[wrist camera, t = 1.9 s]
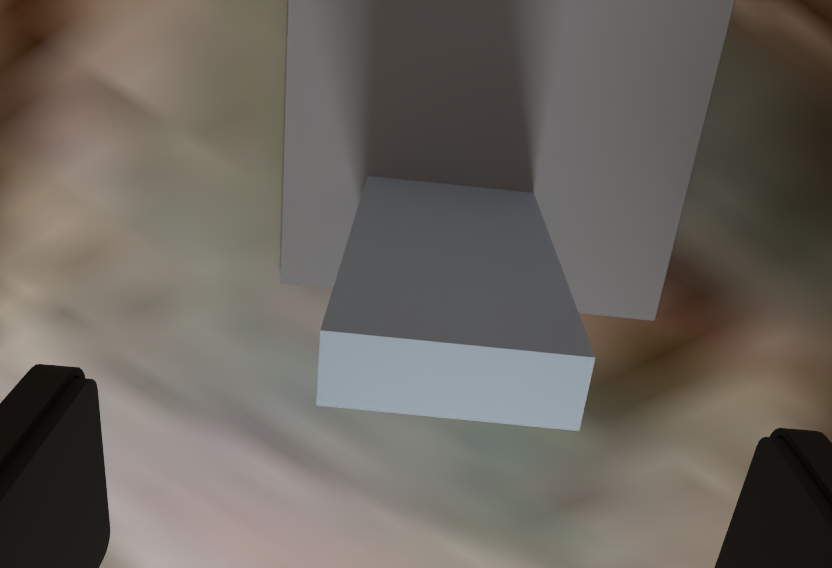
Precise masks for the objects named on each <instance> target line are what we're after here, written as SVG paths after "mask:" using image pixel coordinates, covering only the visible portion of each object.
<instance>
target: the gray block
mask: <svg viewBox="0 0 832 568" xmlns="http://www.w3.org/2000/svg"><path fill="white" fill-rule="evenodd" d="M594 361H595V355H594V353H593V350H592V347H591V345H590V342H589V339H588V337H587V334H586V331H585V329H584V326H583V323H582V321H581V318H580V315H579V313H578V310H577V307H576V305H575V302H574V299H573V297H572V294H571V291H570V289H569V286H568V283H567V281H566V278H565V275H564V273H563V270H562V267H561V264H560V262H559V259H558V256H557V254H556V251H555V248H554V246H553V243H552V240H551V238H550V235H549V232H548V230H547V227H546V224H545V222H544V219H543V216H542V214H541V211H540V208H539V206H538V203H537V200H536V198H535V195H534V193H530V192H520V191H511V190H501V189H491V188H481V187H472V186H462V185H452V184H442V183H433V182H423V181H413V180H403V179H393V178H384V177H374V176H367V178H366V182H365V185H364V188H363V192H362V195H361V198H360V201H359V205H358V208H357V211H356V215H355V218H354V221H353V225H352V228H351V231H350V234H349V238H348V241H347V244H346V248H345V251H344V254H343V257H342V261H341V264H340V267H339V271H338V274H337V277H336V281H335V284H334V287H333V290H332V294H331V297H330V300H329V304H328V307H327V310H326V314H325V317H324V320H323V323H322V327H321V330H320V347H319V366H318V385H317V404H316V405H319V406H329V407H339V408H349V409H359V410H370V411H380V412H390V413H400V414H411V415H421V416H431V417H441V418H451V419H462V420H472V421H482V422H492V423H503V424H513V425H523V426H533V427H543V428H554V429H564V430H574V431H579V430H580V425H581V421H582V416H583V411H584V407H585V402H586V398H587V393H588V389H589V384H590V380H591V375H592V371H593V366H594Z"/></svg>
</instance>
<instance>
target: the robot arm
mask: <svg viewBox="0 0 832 568" xmlns="http://www.w3.org/2000/svg"><path fill="white" fill-rule="evenodd" d="M109 537H110V522H109V511H108V500H107V489H106V478H105V466H104V455H103V444H102V433H101V422H100V411H99V400H98V389H97V384H96V382H95V381H94V380H93V379H85V375H84V373H83V371H82V369H80V368H78V367H66V366H55V365H43V364H38V365H35V366H33V367H32V368H31V369H30V370H29V371H28V372H27V374H26V375H25V376H24V377H23V378H22V379H21V380H20V382H19V383H18V384H17V385H16V386H15V387H14V388H13V390H12V391H11V392H10V393H9V394H8V395H7V396H6V398H5V399H4V400H3V401H2V402H1V403H0V568H99V566H100V564H101V562H102V560H103V558H104V556H105V553H106V551H107V547H108V543H109ZM715 568H832V443H831V442H830V441H829V439H828V438H827V437H826V436H825V435H824V434H823V433H821V432H818V431H809V430H797V429H786V428H779V429H775V430H774V431H773V432H772V434H771V435H770V437H764V438H762V439H761V440H760V441H759V443H758V445H757V447H756V450H755V453H754V456H753V459H752V462H751V464H750V467H749V470H748V473H747V476H746V479H745V482H744V485H743V487H742V490H741V493H740V496H739V499H738V502H737V505H736V508H735V511H734V513H733V516H732V519H731V522H730V525H729V528H728V531H727V534H726V536H725V539H724V542H723V545H722V548H721V551H720V554H719V557H718V560H717V562H716V565H715Z"/></svg>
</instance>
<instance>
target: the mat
mask: <svg viewBox="0 0 832 568" xmlns="http://www.w3.org/2000/svg"><path fill="white" fill-rule="evenodd" d="M734 1H735V0H288V33H287V68H286V102H285V137H284V172H283V207H282V242H281V277H280V283H283V284H293V285H303V286H313V287H323V288H333V287H334V284H335V281H336V277H337V274H338V271H339V267H340V264H341V261H342V257H343V254H344V251H345V248H346V244H347V241H348V238H349V234H350V231H351V228H352V225H353V221H354V218H355V215H356V211H357V208H358V205H359V201H360V198H361V195H362V192H363V188H364V185H365V182H366V178H367V176H374V177H384V178H393V179H403V180H413V181H423V182H433V183H442V184H452V185H462V186H472V187H481V188H491V189H501V190H511V191H520V192H530V193H534V195H535V198H536V200H537V203H538V206H539V208H540V211H541V214H542V216H543V219H544V222H545V224H546V227H547V230H548V232H549V235H550V238H551V240H552V243H553V246H554V248H555V251H556V254H557V256H558V259H559V262H560V264H561V267H562V270H563V273H564V275H565V278H566V281H567V283H568V286H569V289H570V291H571V294H572V297H573V299H574V302H575V305H576V307H577V310H578V313H583V314H592V315H602V316H612V317H622V318H632V319H642V320H652V321H654V320H655V316H656V312H657V308H658V304H659V300H660V296H661V292H662V288H663V284H664V280H665V276H666V272H667V268H668V264H669V260H670V256H671V252H672V248H673V244H674V240H675V236H676V232H677V228H678V224H679V220H680V216H681V212H682V208H683V204H684V200H685V196H686V192H687V188H688V184H689V180H690V176H691V172H692V168H693V164H694V160H695V156H696V152H697V148H698V144H699V140H700V136H701V132H702V128H703V124H704V120H705V116H706V112H707V108H708V104H709V100H710V96H711V92H712V88H713V84H714V80H715V76H716V72H717V68H718V65H719V61H720V57H721V53H722V49H723V45H724V41H725V37H726V33H727V29H728V25H729V21H730V17H731V13H732V9H733V5H734Z"/></svg>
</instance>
